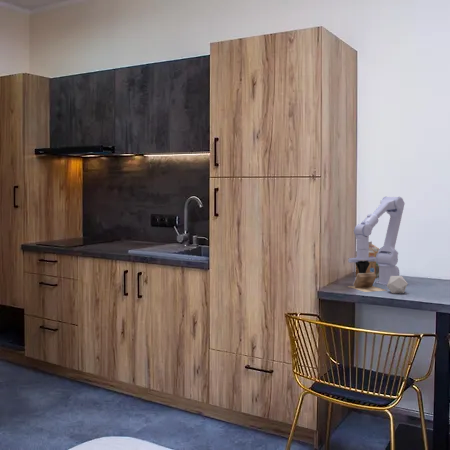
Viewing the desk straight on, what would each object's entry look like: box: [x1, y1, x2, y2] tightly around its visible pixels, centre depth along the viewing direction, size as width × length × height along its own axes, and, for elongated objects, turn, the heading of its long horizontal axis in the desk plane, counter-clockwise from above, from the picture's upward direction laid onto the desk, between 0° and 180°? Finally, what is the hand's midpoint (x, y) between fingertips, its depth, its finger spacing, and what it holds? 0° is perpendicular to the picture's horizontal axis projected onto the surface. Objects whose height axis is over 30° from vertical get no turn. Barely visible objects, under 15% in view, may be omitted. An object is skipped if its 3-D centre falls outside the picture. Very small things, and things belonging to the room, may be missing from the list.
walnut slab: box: [352, 273, 377, 288], centre depth 261 cm, size 9×2×7 cm
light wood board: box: [347, 285, 388, 293], centre depth 260 cm, size 12×16×1 cm
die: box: [386, 275, 409, 294], centre depth 248 cm, size 8×9×10 cm
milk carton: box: [355, 240, 380, 279], centre depth 296 cm, size 11×11×19 cm
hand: (362, 276), depth 263 cm, fingers closed
